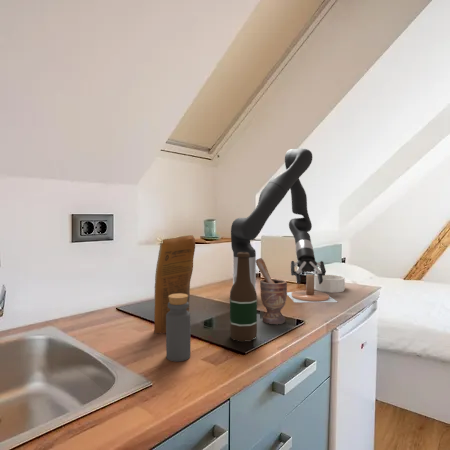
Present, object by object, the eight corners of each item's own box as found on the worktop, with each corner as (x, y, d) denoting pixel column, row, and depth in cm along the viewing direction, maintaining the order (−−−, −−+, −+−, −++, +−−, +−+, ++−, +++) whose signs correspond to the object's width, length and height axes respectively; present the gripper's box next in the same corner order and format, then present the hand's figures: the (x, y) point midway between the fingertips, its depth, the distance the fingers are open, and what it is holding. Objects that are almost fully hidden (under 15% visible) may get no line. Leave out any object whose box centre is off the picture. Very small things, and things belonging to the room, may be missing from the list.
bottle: (191, 351, 85) (191, 292, 85) (189, 361, 79) (189, 298, 79) (168, 351, 85) (167, 292, 84) (164, 362, 79) (164, 298, 78)
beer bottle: (259, 334, 97) (259, 251, 97) (254, 344, 90) (254, 254, 89) (233, 331, 99) (233, 250, 99) (226, 341, 92) (226, 253, 91)
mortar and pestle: (247, 321, 109) (247, 259, 109) (258, 314, 117) (258, 256, 116) (280, 327, 103) (281, 262, 103) (290, 319, 111) (290, 259, 110)
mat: (294, 303, 130) (294, 302, 130) (285, 293, 147) (285, 292, 147) (338, 303, 131) (338, 301, 131) (323, 293, 148) (323, 291, 148)
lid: (296, 301, 131) (297, 278, 131) (287, 292, 146) (287, 272, 146) (334, 301, 132) (335, 278, 132) (321, 292, 147) (321, 271, 147)
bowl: (319, 293, 147) (319, 280, 147) (310, 287, 160) (310, 274, 160) (348, 293, 147) (349, 279, 147) (337, 287, 160) (337, 274, 160)
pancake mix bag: (202, 320, 110) (202, 235, 109) (162, 338, 94) (161, 238, 93) (186, 317, 114) (186, 234, 113) (144, 334, 98) (144, 237, 97)
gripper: (289, 246, 148) (293, 277, 137) (322, 246, 147) (329, 277, 136) (287, 257, 153) (291, 287, 142) (319, 257, 153) (325, 288, 141)
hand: (310, 282), depth 139 cm, fingers open, 8 cm apart
